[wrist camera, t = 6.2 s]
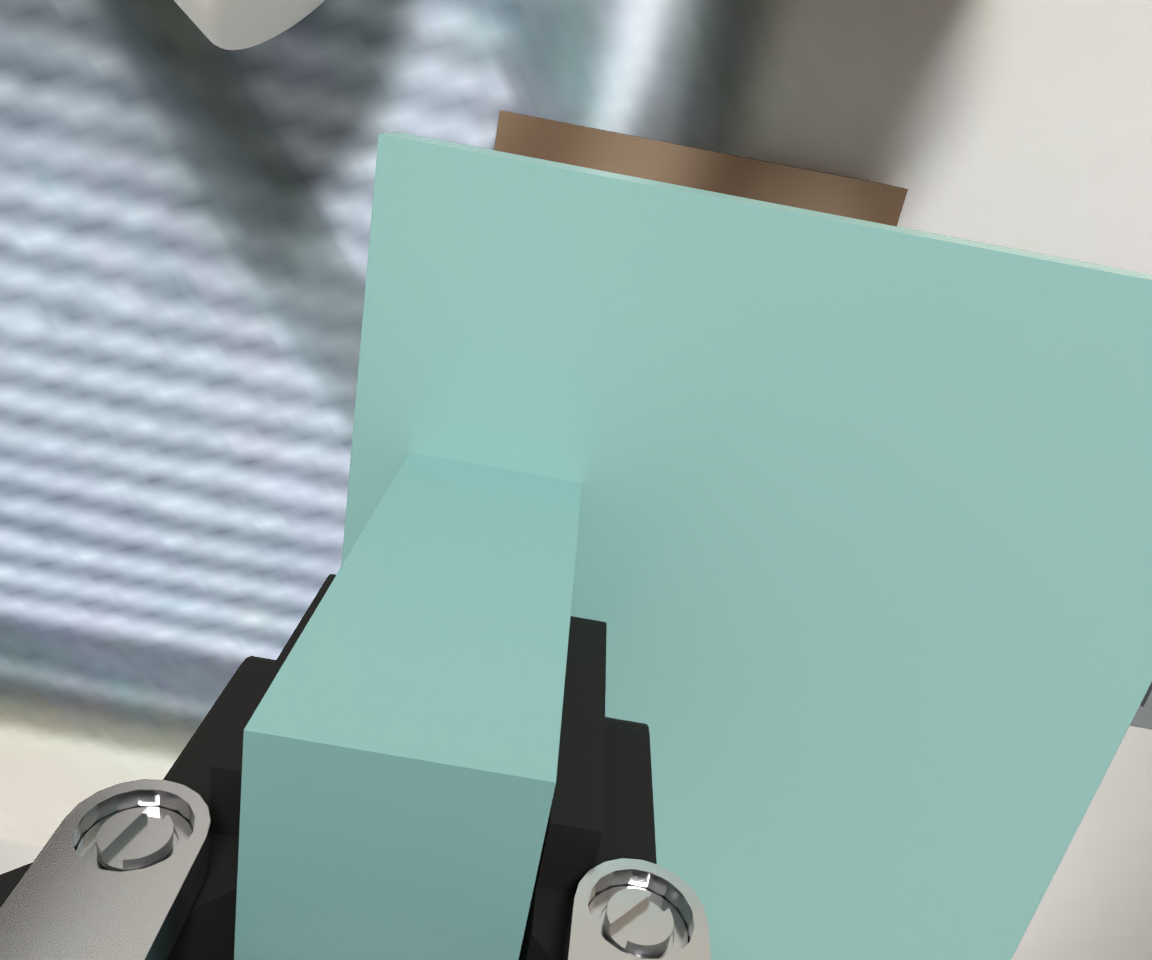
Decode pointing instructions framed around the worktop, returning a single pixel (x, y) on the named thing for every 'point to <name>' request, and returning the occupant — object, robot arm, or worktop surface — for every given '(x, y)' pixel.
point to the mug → (245, 19)
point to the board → (698, 168)
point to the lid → (710, 569)
